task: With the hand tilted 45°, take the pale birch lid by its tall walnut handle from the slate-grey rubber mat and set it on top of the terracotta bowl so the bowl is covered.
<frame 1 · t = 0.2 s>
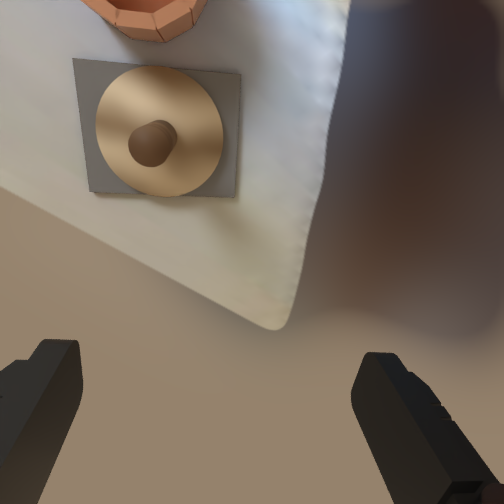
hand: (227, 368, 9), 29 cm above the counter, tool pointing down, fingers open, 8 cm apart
lid: (162, 135, 32), point 1 cm above the counter, touching mat
mat: (163, 135, 33), on the counter
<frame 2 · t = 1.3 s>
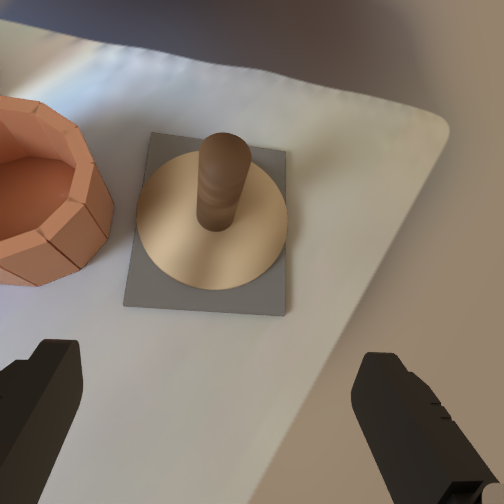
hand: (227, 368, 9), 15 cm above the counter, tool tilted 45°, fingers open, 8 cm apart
lid: (214, 218, 27), point 1 cm above the counter, touching mat
mat: (214, 221, 27), on the counter
bowl: (35, 214, 25), on the counter
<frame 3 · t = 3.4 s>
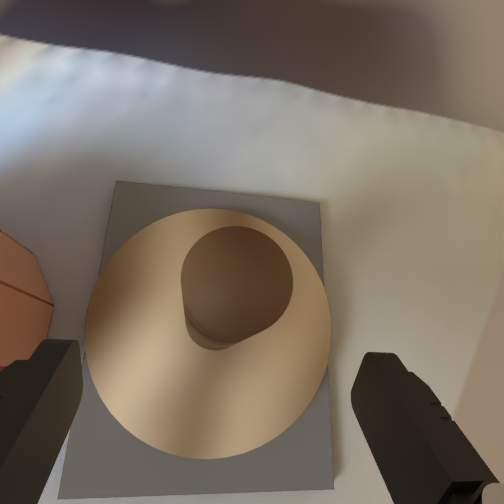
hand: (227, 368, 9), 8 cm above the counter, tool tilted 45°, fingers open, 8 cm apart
lid: (215, 320, 17), point 1 cm above the counter, touching mat
mat: (214, 322, 17), on the counter
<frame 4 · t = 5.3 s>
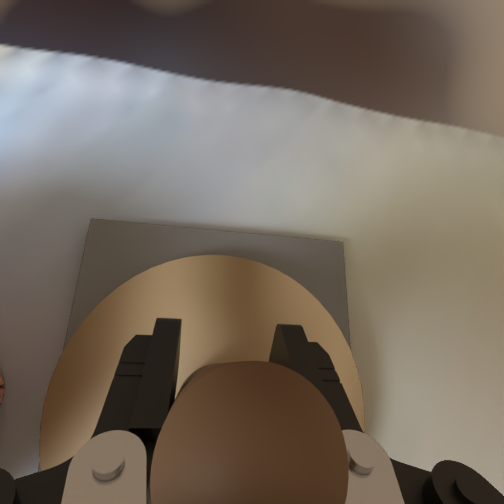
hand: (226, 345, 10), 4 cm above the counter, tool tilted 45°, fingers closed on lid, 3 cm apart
lid: (214, 403, 13), point 1 cm above the counter, touching gripper, mat
mat: (213, 401, 14), on the counter
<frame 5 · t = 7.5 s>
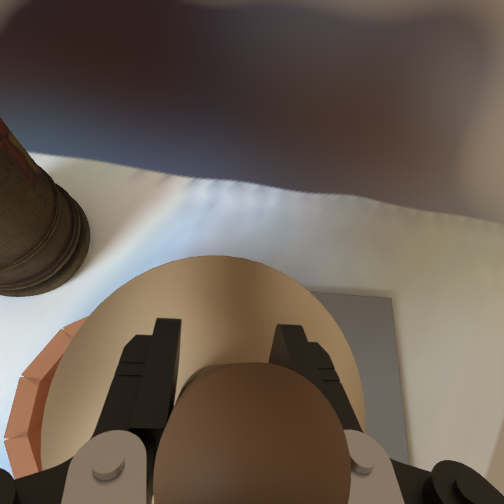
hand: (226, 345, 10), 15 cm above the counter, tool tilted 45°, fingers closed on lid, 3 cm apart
lid: (215, 403, 13), point 12 cm above the counter, touching gripper
mat: (325, 390, 25), on the counter
container: (31, 241, 26), on the counter
bowl: (141, 399, 23), on the counter
when the fingers open (11 cm above the counter, at t = 9.8 s): lid drops 2 cm, resting on bowl.
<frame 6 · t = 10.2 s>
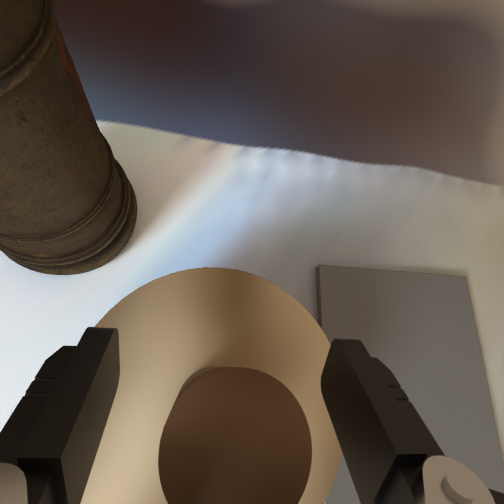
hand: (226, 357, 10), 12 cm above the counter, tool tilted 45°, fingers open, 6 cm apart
lid: (211, 402, 15), point 6 cm above the counter, touching bowl
mat: (403, 377, 23), on the counter
container: (71, 214, 22), on the counter
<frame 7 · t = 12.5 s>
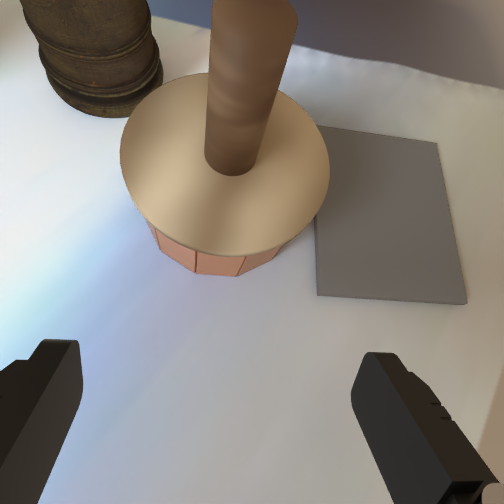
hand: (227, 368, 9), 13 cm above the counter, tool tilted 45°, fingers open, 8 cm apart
lid: (229, 161, 19), point 6 cm above the counter, touching bowl
mat: (381, 212, 27), on the counter
container: (109, 77, 27), on the counter
bowl: (220, 206, 25), on the counter
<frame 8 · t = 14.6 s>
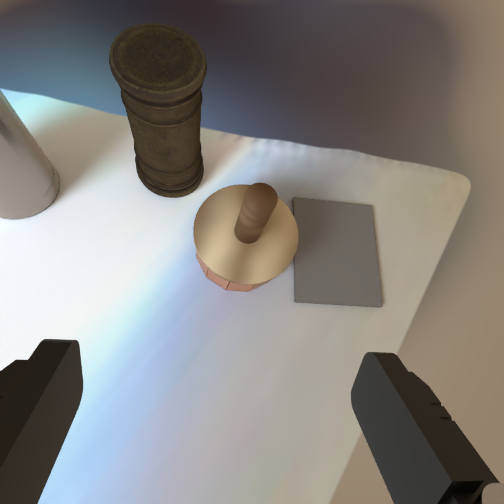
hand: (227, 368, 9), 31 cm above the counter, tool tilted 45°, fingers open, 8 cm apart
lid: (246, 233, 38), point 6 cm above the counter, touching bowl
mat: (334, 251, 46), on the counter
container: (171, 170, 46), on the counter
bowl: (239, 250, 43), on the counter
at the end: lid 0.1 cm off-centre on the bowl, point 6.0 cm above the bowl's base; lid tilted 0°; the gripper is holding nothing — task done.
